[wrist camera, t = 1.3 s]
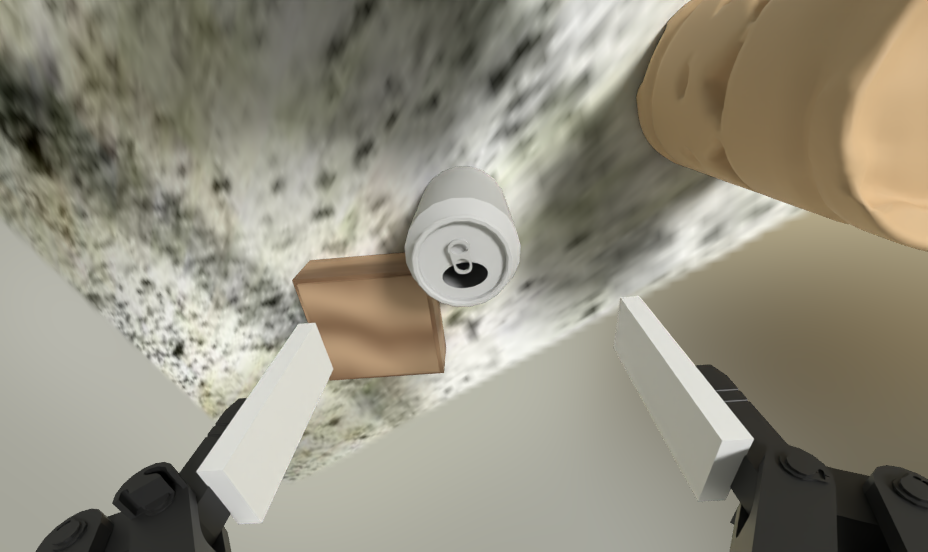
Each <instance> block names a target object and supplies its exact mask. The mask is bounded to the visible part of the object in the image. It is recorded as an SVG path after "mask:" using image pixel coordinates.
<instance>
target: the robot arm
mask: <svg viewBox="0 0 928 552" xmlns="http://www.w3.org/2000/svg"><path fill="white" fill-rule="evenodd" d="M614 350H615V352H616V354H617V355H618V357H619V359H620V360H621V363H622V364H623V366H624V368H625V370H626V372H627V374H628V375H629V377H630V379H631V381H632V383H633V385H634V386H635V388H636V390H637V392H638V394H639V395H640V397H641V399H642V401H643V403H644V405H645V406H646V408H647V410H648V412H649V414H650V415H651V417H652V419H653V421H654V423H655V425H656V426H657V428H658V430H659V432H660V433H661V435H662V437H663V439H664V441H665V443H666V444H667V446H668V448H669V450H670V452H671V454H672V455H673V457H674V459H675V461H676V463H677V464H678V466H679V468H680V470H681V472H682V474H683V475H684V477H685V479H686V481H687V482H688V484H689V486H690V488H691V490H692V492H693V494H694V495H695V497H696V499H697V501H698V502H700V501H720V500H726V498H727V496H728V494H729V491H730V489H732V490H733V492H734V493H735V495H736V497H737V498H738V499H739V501H740V504H739V506H738V508H737V510H736V512H735V514H734V516H733V518H732V520H731V522H730V523H732V524H734V530H733V535H732V541H731V547H730V552H928V479H926V478H924V477H922V476H921V475H919V474H917V473H914V472H912V471H909V470H906V469H904V468H901V467H895V466H888V465H886V466H880V467H877V468H876V469H875V470H874V472H873V473H872V474H871V476H867V475H862V474H857V473H853V472H848V471H843V470H839V469H834V468H830V467H826V466H825V465H824V464H823V463H822V462H821V461H819V460H818V459H817V458H816V457H814V456H813V455H811V454H809V453H807V452H805V451H803V450H802V449H800V448H796V447H793V446H790V445H788V444H787V443H786V442H785V441H784V440H783V439H782V438H781V436H780V435H779V434H778V433H777V432H776V431H775V430H774V429H773V428H772V426H771V425H770V424H769V423H768V422H767V421H766V419H765V418H764V417H763V416H762V415H761V414H760V413H759V412H758V410H757V409H756V408H755V407H754V406H753V405H752V404H751V402H748V401H747V398H746V397H745V396H744V395H743V393H742V392H741V391H738V388H737V387H736V385H735V384H734V383H733V382H732V381H731V380H730V379H729V378H728V376H727V375H725V374H724V373H722V372H721V371H719V370H718V369H716V368H715V367H713V366H712V365H697V366H695V365H694V364H693V362H692V361H691V360H690V359H689V357H688V356H687V355H686V354H685V353H684V351H683V350H682V349H681V347H680V346H679V345H678V344H677V343H676V341H675V340H674V339H673V338H672V336H671V335H670V334H669V332H668V331H667V330H666V329H665V327H664V326H663V325H662V324H661V323H660V321H659V320H658V319H657V318H656V316H655V315H654V314H653V313H652V311H651V310H650V309H649V308H648V306H647V305H646V304H645V303H644V301H643V300H642V299H641V298H640V296H632V297H620V304H619V311H618V319H617V326H616V333H615V341H614ZM332 371H333V367H332V364H331V362H330V359H329V357H328V354H327V351H326V349H325V346H324V344H323V341H322V339H321V336H320V333H319V331H318V328H317V326H316V323H305V324H298V325H297V327H296V328H295V330H294V331H293V333H292V334H291V336H290V337H289V338H288V340H287V341H286V343H285V344H284V346H283V347H282V349H281V350H280V351H279V353H278V354H277V356H276V357H275V359H274V360H273V362H272V363H271V364H270V366H269V367H268V369H267V370H266V372H265V373H264V375H263V376H262V377H261V379H260V380H259V382H258V383H257V385H256V386H255V388H254V389H253V390H252V392H251V393H250V395H249V396H248V398H242V399H238V400H237V401H236V402H235V403H233V404H232V405H231V406H230V407H229V408H228V409H226V410H225V412H224V413H223V414H222V416H221V417H220V418H219V420H218V421H217V422H216V426H214V427H213V428H212V429H211V431H210V432H209V433H208V437H206V438H205V439H204V440H203V442H202V443H201V444H200V446H199V447H198V448H197V450H196V451H195V453H194V454H193V455H192V457H191V458H190V459H189V461H188V462H187V463H186V465H185V466H184V467H183V469H182V470H181V472H180V473H178V472H177V471H176V469H175V468H174V467H173V466H172V465H171V464H170V463H166V462H161V463H155V464H153V465H151V466H148V467H146V468H144V469H142V470H141V471H139V472H138V473H136V474H135V475H133V476H132V477H131V478H130V479H129V480H127V482H125V483H124V484H123V485H122V486H121V488H120V489H119V490H118V492H117V493H116V495H115V497H114V500H113V505H115V506H116V507H117V508H118V509H119V510H120V511H121V512H120V513H117V514H114V515H111V516H108V517H107V516H105V515H104V514H103V513H102V512H101V511H100V510H99V509H89V510H85V511H82V512H79V513H77V514H76V515H74V516H72V517H70V518H68V519H67V520H65V521H64V522H63V523H61V524H60V525H59V526H57V527H56V528H55V529H54V530H53V531H52V532H51V533H50V534H49V535H48V536H47V537H46V538H45V539H44V540H43V542H42V543H41V544H40V546H39V547H38V549H37V550H36V552H231V548H230V543H229V537H228V533H227V531H226V529H225V527H224V525H225V523H226V521H227V519H228V517H229V516H230V515H231V516H232V517H233V518H234V519H235V521H236V522H237V523H238V524H255V523H262V522H263V520H264V518H265V515H266V513H267V511H268V509H269V507H270V505H271V503H272V500H273V498H274V496H275V494H276V492H277V490H278V487H279V485H280V483H281V481H282V479H283V477H284V474H285V472H286V470H287V468H288V466H289V464H290V462H291V459H292V457H293V455H294V453H295V451H296V449H297V446H298V444H299V442H300V440H301V438H302V436H303V433H304V431H305V429H306V427H307V425H308V423H309V421H310V418H311V416H312V414H313V412H314V410H315V408H316V405H317V403H318V401H319V399H320V397H321V395H322V392H323V390H324V388H325V386H326V384H327V382H328V379H329V377H330V375H331V373H332Z"/></svg>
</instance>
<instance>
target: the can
mask: <svg viewBox="0 0 928 552" xmlns="http://www.w3.org/2000/svg"><path fill="white" fill-rule="evenodd" d="M520 248H521V245H520V241H519V238H518V234H517V231H516V228H515V225H514V222H513V219H512V216H511V213H510V211H509V208H508V205H507V202H506V199H505V197H504V194H503V191H502V189H501V188H500V186H499V185H498V183H497V182H496V180H495V179H494V178H493V177H491V176H490V175H488V174H487V173H486V172H484V171H483V170H480V169H477V168H473V167H470V166H459V167H453V168H450V169H447V170H445V171H442V172H441V173H440V174H438V175H437V176H436V177H435V178H433V179H432V180H431V182H430V183H429V185H428V186H427V188H426V189H425V191H424V193H423V196H422V198H421V201H420V203H419V206H418V208H417V211H416V213H415V216H414V218H413V221H412V223H411V226H410V228H409V231H408V235H407V239H406V243H405V256H406V264H407V266H408V268H409V270H410V272H411V274H412V276H413V278H414V279H415V280H416V281H417V283H418V285H419V286H420V287H421V288H422V289H423V290H424V291H425V292H426V293H427V294H428V295H429V296H430V297H432V298H434V299H435V300H437V301H439V302H440V303H444V304H447V305H451V306H455V307H471V306H474V305H478V304H482V303H485V302H487V301H488V300H490V299H492V298H493V297H495V296H497V295H498V294H499V293H500V291H501V290H502V289H503V288H504V287H505V286H506V285H507V283H508V282H509V281H510V280H511V279H512V278H513V276H514V274H515V271H516V269H517V267H518V264H519V262H520Z"/></svg>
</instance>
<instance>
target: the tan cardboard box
mask: <svg viewBox="0 0 928 552" xmlns="http://www.w3.org/2000/svg"><path fill="white" fill-rule="evenodd" d="M292 281H293V284H294V287H295V289H296V292H297V295H298V297H299V300H300V303H301V305H302V308H303V311H304V313H305V316H306V319H307V321H308V323H316V326H317V328H318V331H319V333H320V336H321V339H322V341H323V344H324V346H325V349H326V351H327V354H328V357H329V359H330V362H331V364H332V367H333V371H332V373H331V375H330V377H329V380H344V379H359V378H374V377H389V376H404V375H419V374H434V373H444V367H445V354H446V344H445V337H444V331H443V324H442V318H441V311H440V304H439V301H437V300H435V299H434V298H432V297H430V296H429V295H428V294H427V293H426V292H425V291H424V290H423V289H422V288H421V287H420V286H419V285H418V283H417V281H416V280H415V279H414V278H413V276H412V274H411V272H410V270H409V268H408V266H407V264H406V256H405V252H404V253H392V254H380V255H369V256H357V257H345V258H333V259H321V260H310V261H309V262H308V263H307V264H306V265H305V267H304V268H303V269H302V270H301V271H300V272H299V273H298V274H297V275H296V277H295V278H294V279H293V280H292Z"/></svg>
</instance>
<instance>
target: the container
mask: <svg viewBox="0 0 928 552" xmlns="http://www.w3.org/2000/svg"><path fill="white" fill-rule="evenodd" d="M636 101H637V109H638V116H639V121H640V125H641V128H642V131H643V134H644V135H645V137H646V139H647V141H648V142H649V143H650V145H651V146H652V147H653V148H654V149H655V150H656V151H657V152H659V153H660V154H661V155H662V156H664V157H666V158H667V159H669V160H670V161H672V162H674V163H676V164H679V165H682V166H684V167H688V168H690V169H693V170H696V171H698V172H701V173H704V174H707V175H709V176H712V177H715V178H718V179H720V180H723V181H726V182H729V183H732V184H734V185H737V186H740V187H743V188H746V189H749V190H752V191H754V192H757V193H760V194H763V195H766V196H768V197H771V198H773V199H776V200H779V201H782V202H785V203H788V204H790V205H793V206H796V207H799V208H801V209H804V210H807V211H810V212H813V213H816V214H818V215H821V216H824V217H827V218H829V219H832V220H835V221H838V222H842V223H845V224H850V225H853V226H855V227H857V228H859V229H861V230H863V231H866V232H869V233H871V234H874V235H877V236H880V237H882V238H885V239H888V240H890V241H893V242H896V243H899V244H902V245H905V246H908V247H912V248H915V249H919V250H923V251H927V252H928V0H691V1H689V2H688V3H687V4H685V5H684V6H683V7H682V8H681V9H680V10H679V11H678V12H677V13H676V14H675V15H674V16H673V17H672V18H671V19H670V20H669V21H668V23H667V27H666V29H665V31H664V33H663V35H662V37H661V39H660V41H659V43H658V45H657V47H656V49H655V51H654V53H653V56H652V58H651V60H650V63H649V66H648V68H647V71H646V74H645V77H644V80H643V82H642V84H641V86H640V87H639V89H638V92H637V95H636Z"/></svg>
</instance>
